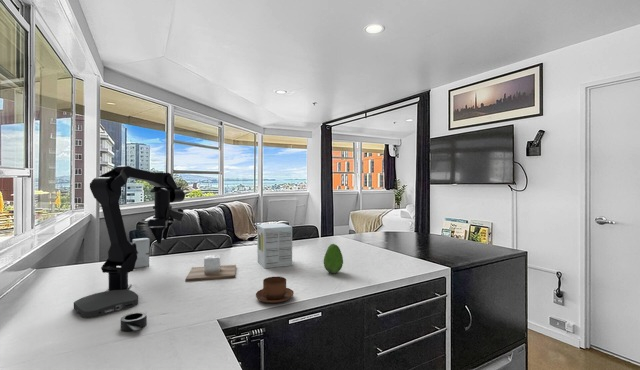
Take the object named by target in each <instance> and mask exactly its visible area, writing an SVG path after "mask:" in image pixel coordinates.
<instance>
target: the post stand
mask: <svg viewBox="0 0 640 370" xmlns="http://www.w3.org/2000/svg"><path fill="white" fill-rule="evenodd" d="M236 271H237V265H236V264H228V265H227V264H226V265H221V269H220V273H208V274H204V266H195V267H193V266H192V267H191V268H190V270H189V272H188V273H187V275H186V277H185V279H184V280H185V282H195V281H197V282H198V281H208V280H209V281H210V280H212V281H213V280H222V279H223V280H224V279H235V278H236Z"/></svg>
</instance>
